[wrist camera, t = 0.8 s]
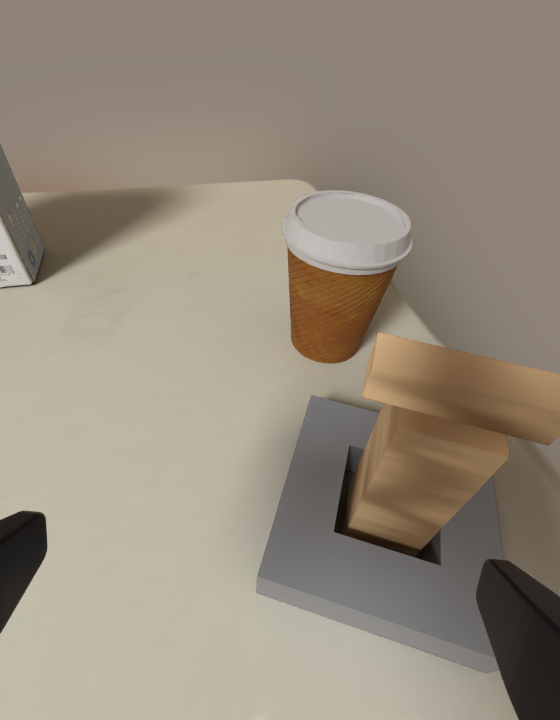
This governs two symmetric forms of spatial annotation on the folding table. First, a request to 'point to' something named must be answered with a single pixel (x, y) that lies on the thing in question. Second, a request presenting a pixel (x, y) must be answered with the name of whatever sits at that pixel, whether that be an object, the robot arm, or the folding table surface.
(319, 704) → the folding table surface
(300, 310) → the disposable coffee cup
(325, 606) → the gray square ring
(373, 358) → the t key
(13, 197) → the hard drive box
